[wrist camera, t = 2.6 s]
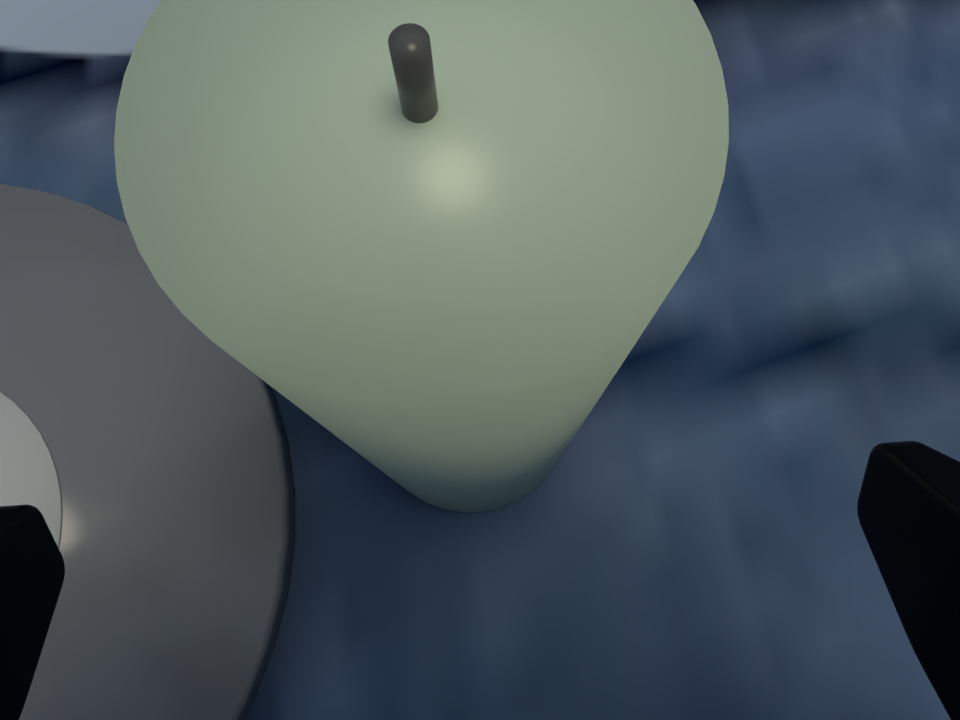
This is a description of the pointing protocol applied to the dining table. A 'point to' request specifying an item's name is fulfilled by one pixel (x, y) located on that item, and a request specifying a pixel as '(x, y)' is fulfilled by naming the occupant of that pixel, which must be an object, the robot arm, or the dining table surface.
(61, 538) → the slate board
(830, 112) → the dining table surface
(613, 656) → the dining table surface
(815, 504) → the dining table surface
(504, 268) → the pillar candle
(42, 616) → the robot arm
